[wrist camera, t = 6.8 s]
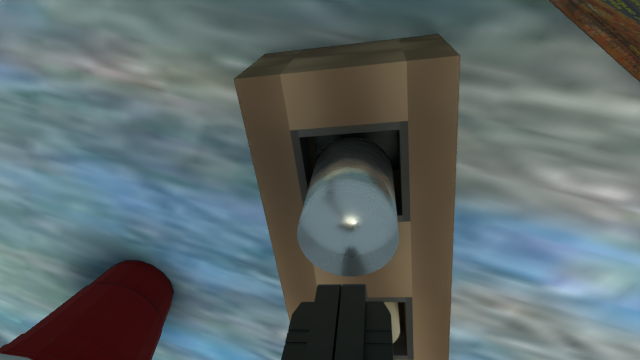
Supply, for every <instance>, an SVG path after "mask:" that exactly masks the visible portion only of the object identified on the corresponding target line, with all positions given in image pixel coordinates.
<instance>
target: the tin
mask: <svg viewBox="0 0 640 360" xmlns="http://www.w3.org/2000/svg"><path fill="white" fill-rule="evenodd" d="M550 1H551V2H552V3H553V4H554V5H555V6H556V7H557V8H558V9H560V10H561V11H562V12H563V13H564V14H565V15H566V16H567V17H568V18H570V19H571V20H572V21H573V22H574V23H575V24H576V25H577V26H578V27H580V28H581V29H582V30H583V31H584V32H585V33H586V34H587V35H589V36H590V37H591V38H592V39H593V40H594V41H595V42H596V43H597V44H599V45H600V46H601V47H602V48H603V49H604V50H605V51H606V52H607V53H608V54H610V55H611V56H612V57H613V58H614V59H615V60H616V61H617V62H618V63H620V64H621V65H622V66H623V67H624V68H625V69H626V70H627V71H628V72H630V73H631V74H632V75H633V76H634V77H635V78H636V79H637V80H639V81H640V0H550Z"/></svg>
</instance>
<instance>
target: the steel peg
mask: <svg viewBox="0 0 640 360" xmlns="http://www.w3.org/2000/svg"><path fill="white" fill-rule="evenodd" d="M297 238H298V242H299V246H300V248H301V250H302V252H303V253H304V255H305V256H306V257H307V258H308V260H310V261H311V262H312V263H313V264H314V265H315V266H317V267H318V268H320V269H322V270H324V271H326V272H329V273H331V274H335V275H339V276H349V277H353V276H362V275H366V274H370V273H372V272H375V271H377V270H379V269H381V268H382V267H383V266H385V265H386V264H387V263H388V262H389V261H390V260H391V259H392V257H393V256H394V254H395V252H396V250H397V248H398V243H399V230H398V220H397V211H396V201H395V191H394V181H393V172H392V165H391V162H390V159H389V157H388V156H387V154H386V153H385V151H384V150H383V149H382V148H381V147H379V146H378V145H377V144H375V143H373V142H371V141H369V140H366V139H363V138H357V137H349V138H343V139H339V140H337V141H334V142H333V143H331V144H329V145H328V146H327V147H326V148H325V149H324V150H323V151H322V152H321V153H320V155H319V157H318V158H317V161H316V164H315V168H314V171H313V175H312V178H311V182H310V185H309V189H308V192H307V196H306V199H305V203H304V206H303V210H302V213H301V217H300V220H299V224H298V228H297Z"/></svg>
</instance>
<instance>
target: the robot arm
mask: <svg viewBox="0 0 640 360" xmlns="http://www.w3.org/2000/svg"><path fill="white" fill-rule="evenodd" d="M288 330H289V331H288V333H287V338H286V344H285V346H284V350H283V354H282V358H281V360H394V354H393V337H392V321H391V314H390V312H389V310H388V308H387V307H386V305H385V303H384V301H368V298H367V288H366V284H343V285H341V284H318V286H317V290H316V295H315V301H314V302H301V303H300V304H299V306H298V307H297V309H296V310H295V311H294V313H293V314H292V317H291V321H290V325H289V329H288Z"/></svg>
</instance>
